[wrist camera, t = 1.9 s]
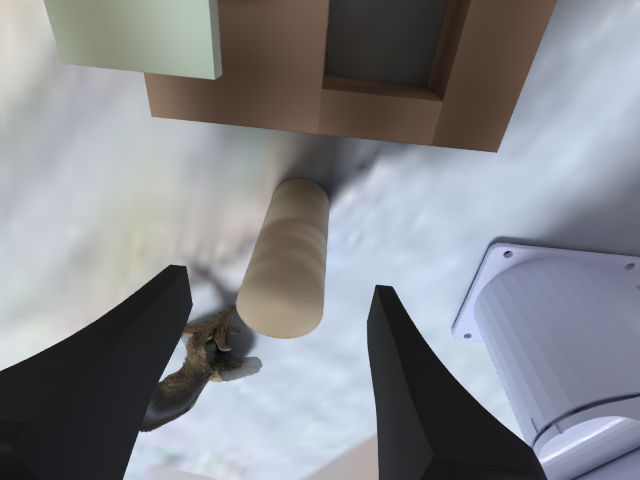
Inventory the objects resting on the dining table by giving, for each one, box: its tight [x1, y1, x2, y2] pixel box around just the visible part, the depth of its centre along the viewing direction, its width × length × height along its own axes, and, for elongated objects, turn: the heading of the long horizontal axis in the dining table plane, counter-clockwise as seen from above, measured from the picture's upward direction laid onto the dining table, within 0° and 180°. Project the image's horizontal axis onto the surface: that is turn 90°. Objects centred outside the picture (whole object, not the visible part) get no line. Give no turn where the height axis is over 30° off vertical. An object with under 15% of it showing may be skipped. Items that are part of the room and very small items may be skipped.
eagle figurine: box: [139, 306, 262, 432], centre depth 24 cm, size 8×7×9 cm
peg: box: [236, 178, 329, 339], centre depth 16 cm, size 3×3×8 cm
